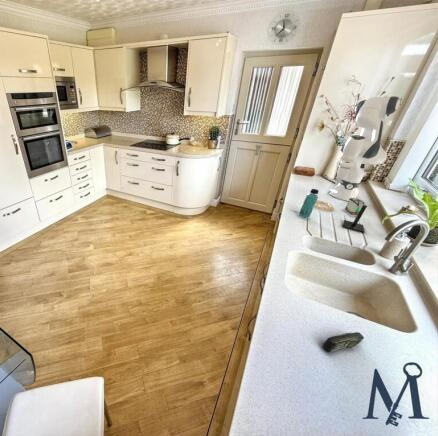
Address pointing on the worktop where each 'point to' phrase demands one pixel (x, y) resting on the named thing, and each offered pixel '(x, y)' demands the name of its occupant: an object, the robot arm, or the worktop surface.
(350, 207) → the food container
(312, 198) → the beverage bottle
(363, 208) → the post
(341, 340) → the dark elongated rock
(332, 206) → the ring
